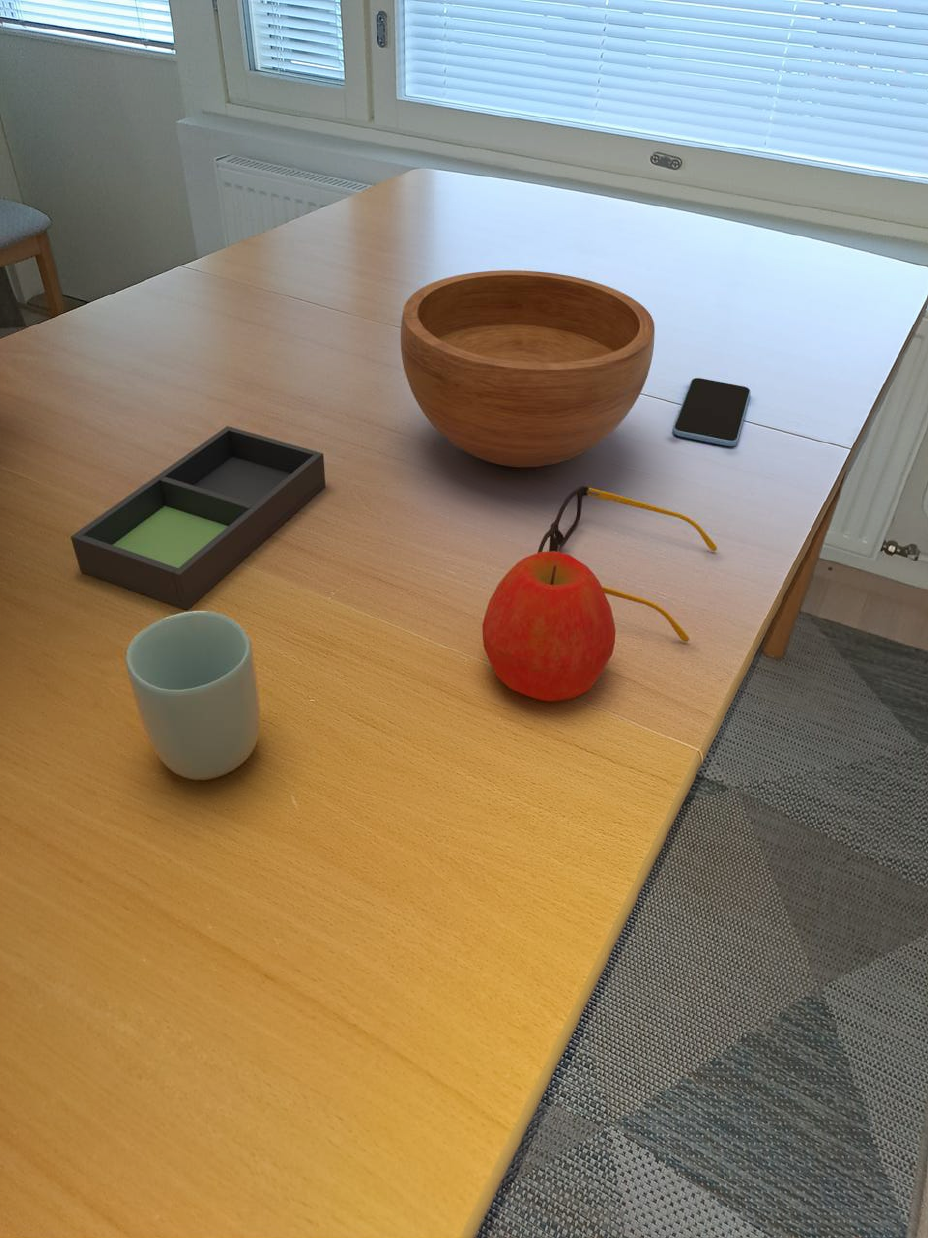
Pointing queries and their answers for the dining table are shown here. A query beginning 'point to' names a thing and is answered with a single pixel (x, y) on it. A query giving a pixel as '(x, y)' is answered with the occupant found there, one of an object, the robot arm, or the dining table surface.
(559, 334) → the bowl
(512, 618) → the apple
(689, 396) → the smartphone
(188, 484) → the holder
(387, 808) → the dining table surface
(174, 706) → the cup
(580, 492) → the eyeglasses
